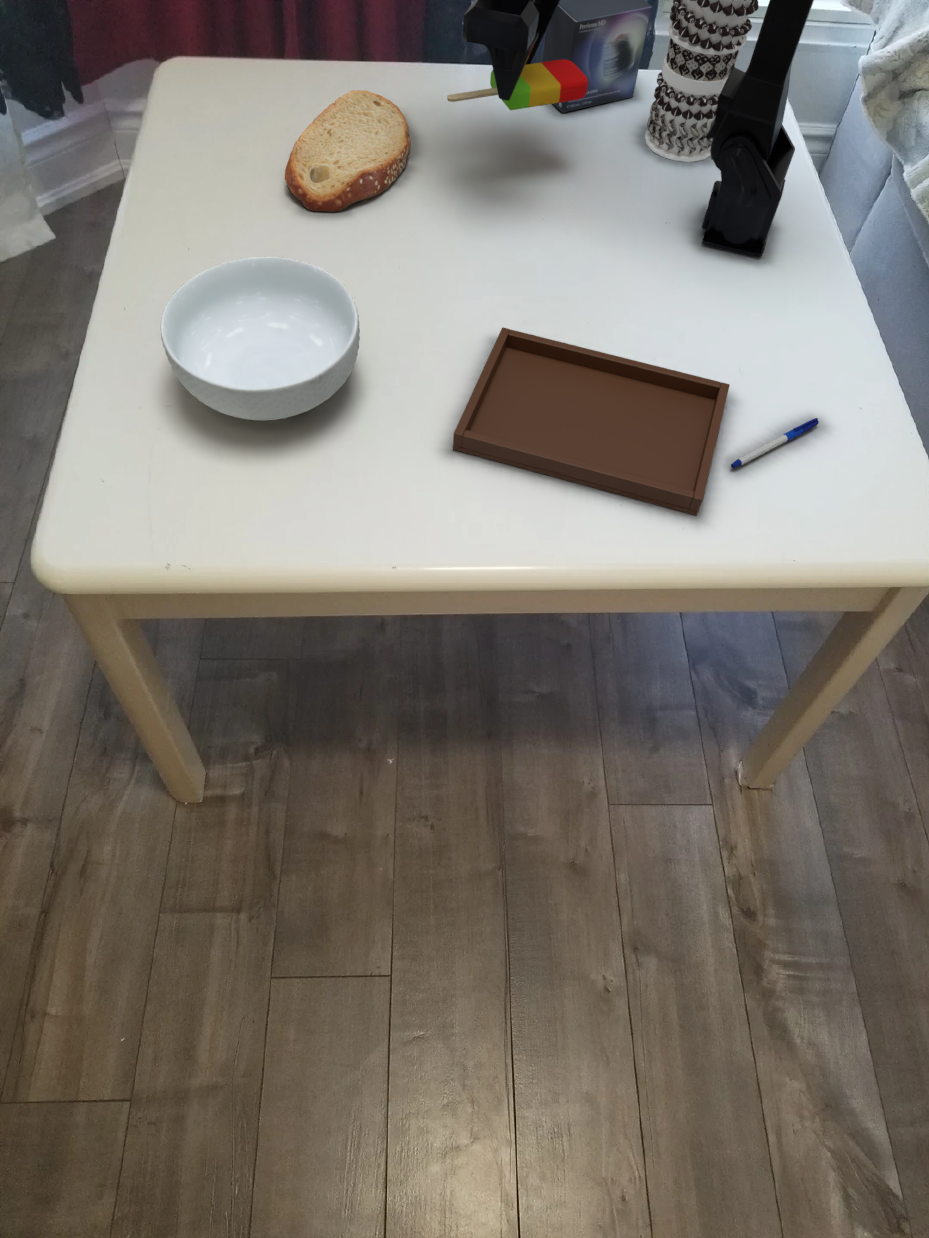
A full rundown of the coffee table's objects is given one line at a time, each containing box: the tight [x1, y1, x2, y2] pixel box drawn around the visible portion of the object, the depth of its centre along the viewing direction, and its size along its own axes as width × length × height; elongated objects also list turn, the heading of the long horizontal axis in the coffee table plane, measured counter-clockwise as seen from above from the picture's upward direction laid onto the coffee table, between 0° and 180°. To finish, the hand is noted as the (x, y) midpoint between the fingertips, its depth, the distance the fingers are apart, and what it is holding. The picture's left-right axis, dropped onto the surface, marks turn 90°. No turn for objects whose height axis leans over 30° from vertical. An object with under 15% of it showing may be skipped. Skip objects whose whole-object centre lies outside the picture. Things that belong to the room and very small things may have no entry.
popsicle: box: [446, 60, 588, 111], centre depth 95 cm, size 6×15×2 cm, turn 112°
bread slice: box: [284, 89, 411, 212], centre depth 102 cm, size 18×18×4 cm
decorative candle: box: [644, 0, 760, 163], centre depth 98 cm, size 9×9×25 cm
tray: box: [452, 327, 730, 516], centre depth 81 cm, size 22×15×2 cm
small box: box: [541, 0, 653, 113], centre depth 109 cm, size 11×6×10 cm, turn 118°
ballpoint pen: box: [730, 417, 820, 469], centre depth 81 cm, size 10×1×1 cm, turn 125°
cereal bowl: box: [160, 256, 361, 422], centre depth 80 cm, size 17×17×7 cm
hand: (514, 81), depth 94 cm, fingers closed on popsicle, 7 cm apart
